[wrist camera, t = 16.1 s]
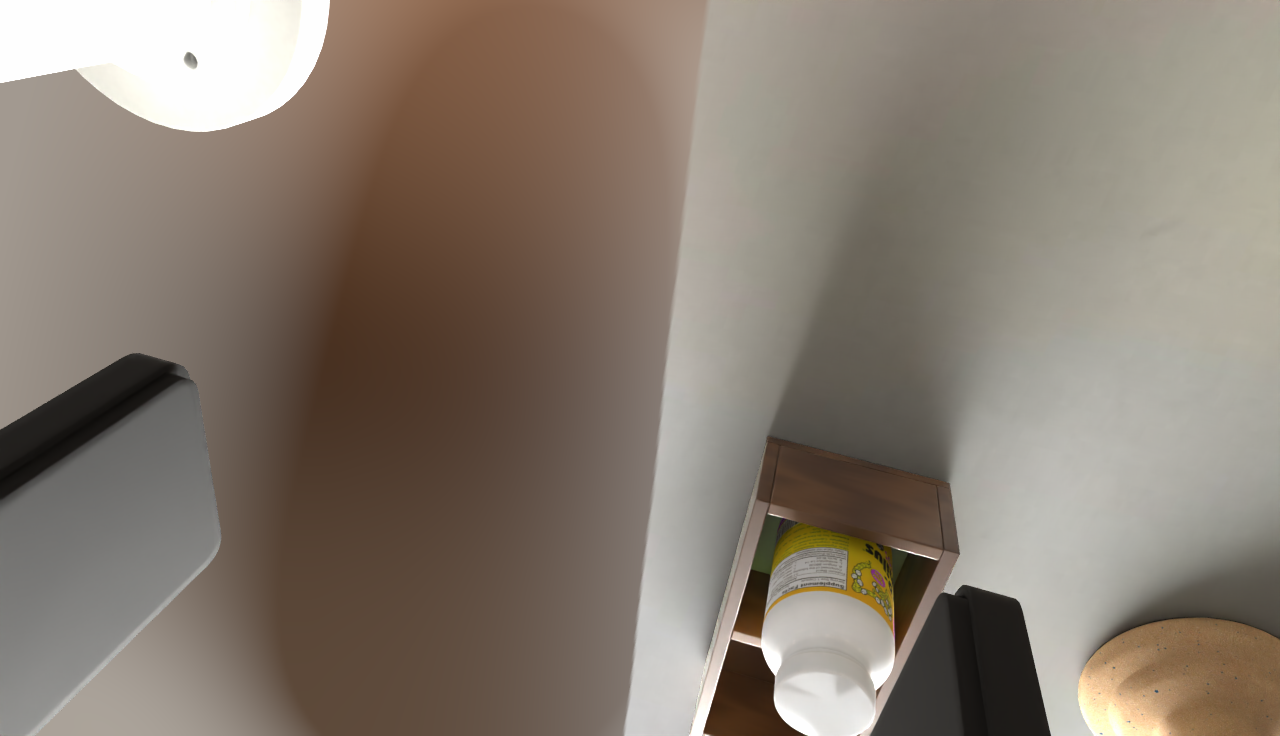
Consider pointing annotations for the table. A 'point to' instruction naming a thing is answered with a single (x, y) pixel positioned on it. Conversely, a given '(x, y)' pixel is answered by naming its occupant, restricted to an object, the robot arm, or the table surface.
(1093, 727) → the candle holder
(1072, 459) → the table surface
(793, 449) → the wooden divided tray
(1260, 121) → the table surface
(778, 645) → the supplement bottle
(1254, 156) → the table surface
